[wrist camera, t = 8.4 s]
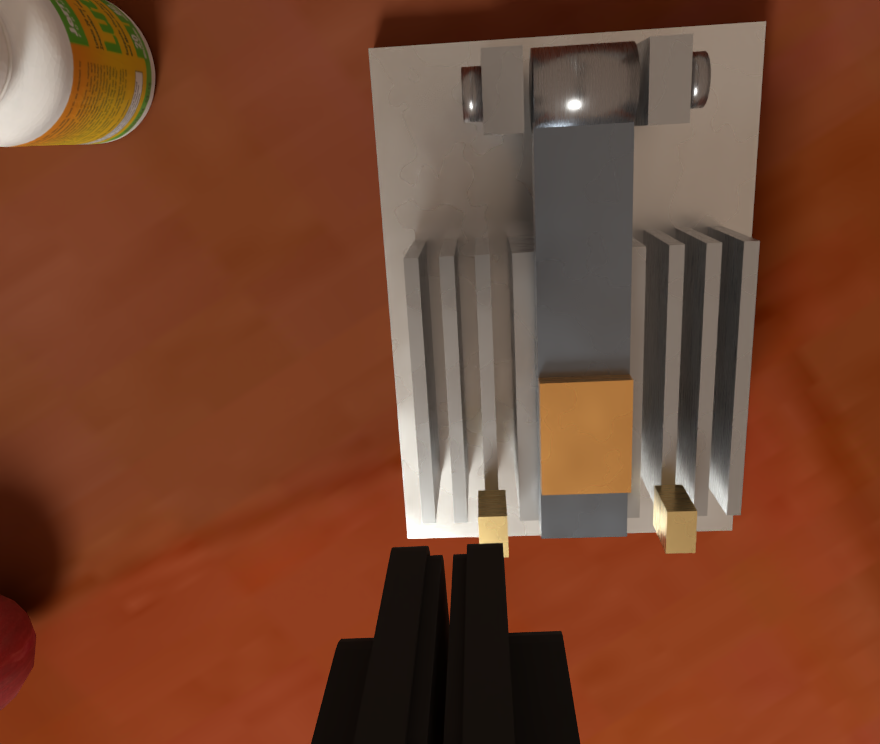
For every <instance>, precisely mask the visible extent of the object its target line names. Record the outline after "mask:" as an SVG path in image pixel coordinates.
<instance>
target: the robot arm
mask: <svg viewBox="0 0 880 744" xmlns="http://www.w3.org/2000/svg"><path fill="white" fill-rule="evenodd" d="M311 744H580V739H579V733H578V727H577V721H576V715H575V709H574V702H573V696H572V690H571V684H570V678H569V672H568V665H567V659H566V653H565V647H564V641H563V636H562V632H561V631H550V632H522V633H508V618H507V602H506V585H505V569H504V552H503V543H484V544H467V554H456V555H453V571H452V589H451V608H450V625H449V614H448V603H447V592H446V581H445V570H444V560H443V556H442V555H433V556H430V551H429V547H428V546H417V547H394V548H392V550H391V553H390V559H389V564H388V569H387V574H386V579H385V584H384V589H383V594H382V600H381V605H380V610H379V615H378V620H377V625H376V630H375V636H374V638H354V639H341V640H340V641H339V642H338V645H337V647H336V650H335V654H334V658H333V662H332V666H331V670H330V673H329V677H328V681H327V685H326V689H325V693H324V696H323V700H322V704H321V708H320V712H319V716H318V719H317V723H316V727H315V731H314V735H313V738H312V742H311Z"/></svg>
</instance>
